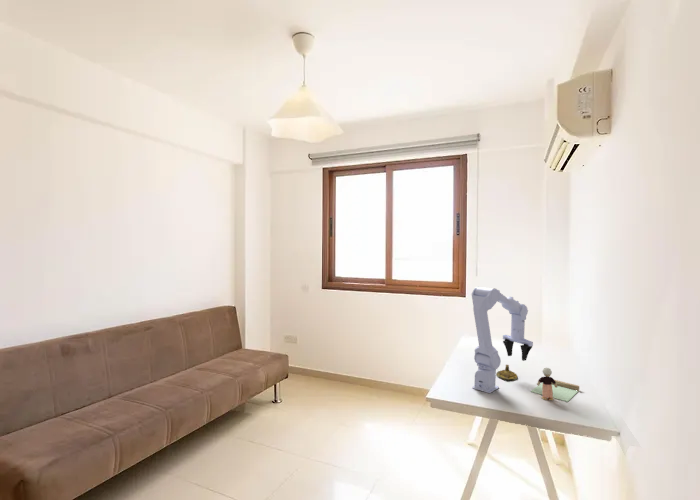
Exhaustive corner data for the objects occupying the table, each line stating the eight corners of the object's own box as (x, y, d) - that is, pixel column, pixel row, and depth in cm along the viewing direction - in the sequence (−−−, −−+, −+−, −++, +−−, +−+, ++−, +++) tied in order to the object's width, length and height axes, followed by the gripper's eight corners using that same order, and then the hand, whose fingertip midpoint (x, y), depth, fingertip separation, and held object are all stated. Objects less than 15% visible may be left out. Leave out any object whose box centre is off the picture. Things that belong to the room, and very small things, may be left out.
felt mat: (567, 402, 147) (567, 401, 147) (530, 391, 157) (530, 391, 157) (578, 391, 159) (578, 390, 159) (543, 382, 169) (543, 382, 169)
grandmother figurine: (552, 397, 152) (553, 366, 152) (558, 400, 148) (559, 369, 148) (534, 396, 152) (535, 366, 152) (539, 400, 148) (540, 369, 148)
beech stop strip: (578, 391, 159) (578, 386, 159) (543, 382, 169) (543, 378, 169) (579, 390, 160) (579, 385, 160) (544, 381, 170) (544, 377, 170)
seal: (518, 385, 168) (516, 375, 182) (519, 375, 167) (517, 365, 181) (496, 380, 171) (496, 370, 185) (497, 370, 171) (497, 361, 185)
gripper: (537, 331, 168) (536, 361, 168) (509, 325, 180) (509, 352, 180) (527, 332, 164) (526, 363, 164) (500, 326, 177) (499, 354, 177)
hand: (516, 357), depth 172 cm, fingers open, 7 cm apart
